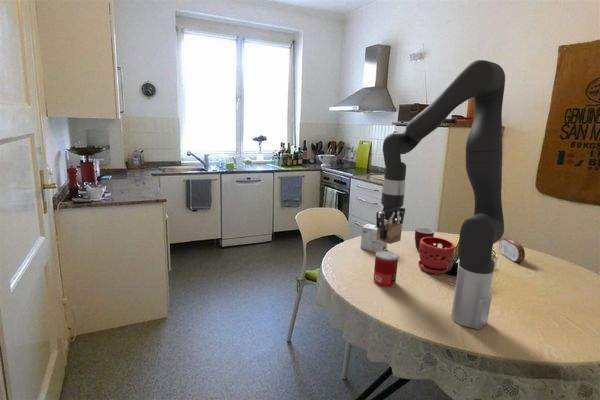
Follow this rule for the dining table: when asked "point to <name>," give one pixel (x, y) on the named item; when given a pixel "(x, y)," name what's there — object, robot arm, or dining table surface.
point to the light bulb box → (371, 239)
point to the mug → (422, 235)
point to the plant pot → (435, 254)
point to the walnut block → (391, 233)
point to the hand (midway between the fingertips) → (388, 237)
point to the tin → (512, 249)
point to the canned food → (385, 268)
